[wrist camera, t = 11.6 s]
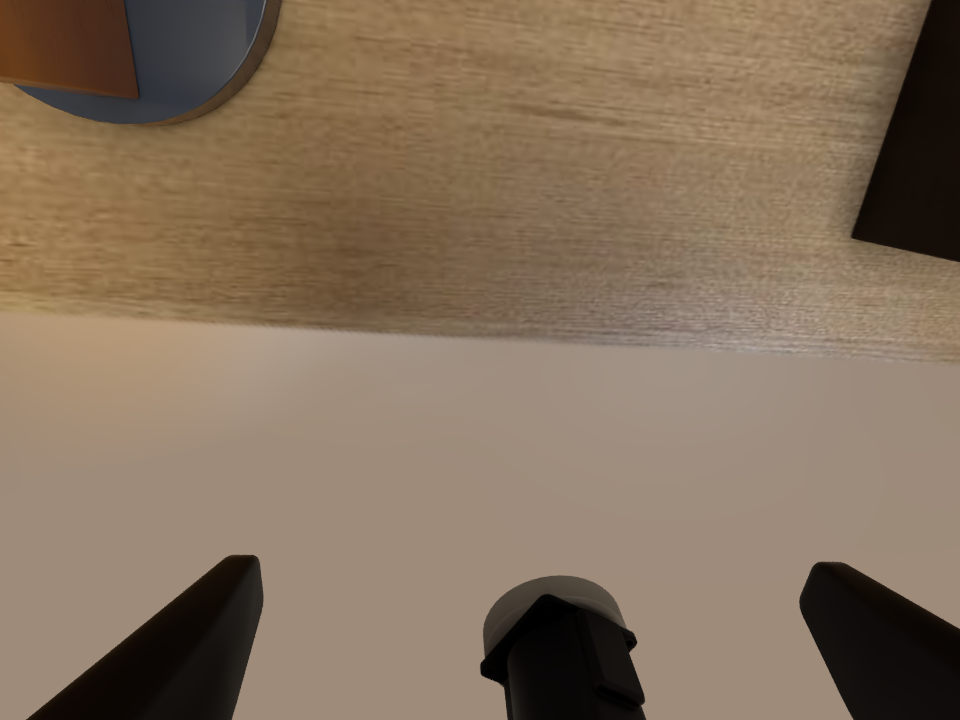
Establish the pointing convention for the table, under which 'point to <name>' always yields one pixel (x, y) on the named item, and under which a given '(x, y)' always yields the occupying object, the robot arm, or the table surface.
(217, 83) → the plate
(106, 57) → the brown wooden flat block
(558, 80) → the table surface
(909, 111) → the slotted dark tray
